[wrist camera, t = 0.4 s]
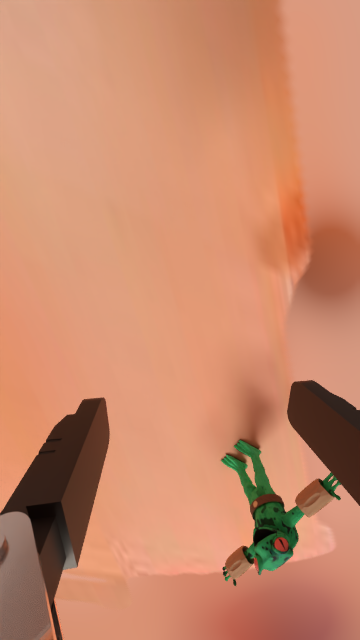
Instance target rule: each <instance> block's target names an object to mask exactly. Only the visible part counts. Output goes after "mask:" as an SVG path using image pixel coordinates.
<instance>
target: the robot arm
mask: <svg viewBox="0 0 360 640" xmlns="http://www.w3.org/2000/svg"><path fill="white" fill-rule="evenodd" d="M287 414H288V419H289V421H290V424H291V425H292V427H293V428H294V429H295V430H296V432H297V433H298V434H299V435H300V436H301V437H302V439H303V440H304V441H305V442H306V443H307V444H308V446H309V447H310V448H311V449H312V450H313V451H314V453H315V454H316V455H317V456H318V457H319V459H320V460H321V461H322V462H323V463H324V464H325V466H326V467H327V468H328V469H329V470H330V471H331V473H332V474H333V475H334V476H335V477H336V479H337V480H338V481H339V482H340V483H341V484H342V485H343V487H344V488H345V489H346V490H347V491H348V493H349V494H350V495H351V496H352V497H353V498H354V500H355V501H356V502H357V503H358V504H359V506H360V410H356V408H355V407H354V406H353V405H351V404H350V403H348V402H347V401H346V400H344V399H343V398H341V397H339V396H336V395H334V394H332V393H330V392H329V391H328V390H326V389H325V388H323V387H322V386H321V385H319V384H318V383H316V382H315V381H312V380H309V381H298V382H294V383H293V384H292V386H291V391H290V398H289V404H288V410H287ZM108 444H109V423H108V415H107V408H106V401H105V398H93V399H84V400H83V401H82V402H81V404H80V406H79V408H78V410H77V411H76V413H75V414H71V415H67V416H66V417H64V418H63V419H62V420H61V421H60V422H59V423H58V424H57V425H56V426H55V427H54V428H53V430H52V431H51V433H50V435H49V436H48V438H47V439H46V443H44V444H43V446H42V448H41V449H40V451H39V454H38V455H37V456H36V457H35V459H34V460H33V462H32V464H31V465H30V467H29V468H28V470H27V472H26V473H25V475H24V477H23V478H22V480H21V481H20V483H19V485H18V486H17V488H16V489H15V491H14V493H13V494H12V496H11V497H10V499H9V501H8V502H7V504H6V506H5V507H4V509H3V510H2V512H1V513H0V640H64V638H63V633H62V629H61V624H60V620H59V615H58V611H57V607H56V602H55V594H56V591H57V587H58V584H59V581H60V577H61V574H62V571H63V570H65V569H71V568H76V567H77V566H78V562H79V558H80V554H81V550H82V546H83V543H84V539H85V535H86V531H87V527H88V523H89V519H90V515H91V511H92V508H93V504H94V500H95V496H96V492H97V488H98V484H99V480H100V476H101V472H102V469H103V465H104V461H105V457H106V453H107V449H108Z"/></svg>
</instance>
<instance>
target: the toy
mask: <svg viewBox="0 0 360 640" xmlns="http://www.w3.org/2000/svg"><path fill="white" fill-rule="evenodd" d="M239 442H240V443H237V444H238V445H235V446H234V447H235V448H236V449H237V450H239V451H240V452H242V453H244V454H246V455H248V456H249V457H251V459H252V462H253V468H254V472H255V483H256V485H257V488H256V487H255V486H254V485H253V484H252V481H251V480H250V478H249V477H248V475H247V473H246V471H245V469H246V468H247V467H248V466H247V464H245V463H243V462H241V461H239V460H237V459H236V458H234V457H232V456H229V455H226V456H227V458H224V459H225V460H221V461H222V462H223V463H224V464H225V465H227V466H228V467H230V468H232V469H234V470H235V471H236V472H237V473H238V475H239V477H240V480H241V484H242V486H243V488H244V492H245V494H246V496H247V498H248V500H249V503H250V512H251V514H252V517H253V519H254V520H255V528H254V532H253V544H252V545H251V546H250V547H249V548H248V547H246V546H241V547H240V548H238V549H237V550H236V551H235V552H234V553H232V554H231V555H230V556H229V557H228V559H227V561H226V563H225V565H226V566H225V567H223V570H224V572H223V575H224V576H226V574H227V573H229V576H228V577H225V580H226V581H228V579H229V577H232V578H233V581H234V582H233V583H234V585H235V586H236V581H235V579H237V578H238V577H240V576H241V575H242V574H243V573H244V572H246V571H247V570H248V569H249V568H250V567H251V566H252V565H253V563H254V564H255V567H256V569H257V571H258V574H259V575H260V574H261V571H262V570H263V569H267V570H269V571H273V570H275V569H277V568H278V567H280V566H281V565H283V564H284V563H285V562H286V561H287V560H289V559H290V558H291V557H292V556H293V548H294V547H295V546H296V544H297V542H298V533H297V530H296V527H295V525H296V523H297V522H298V521H299V520H300V519H301V518H302V517H303V515H304V514H305V515H306V516H307V517H311V516H313V515H314V514H315V513H317V512H318V511H319V510H321V509H322V508H323V507H324V506H326V505H327V504H328V503H329V502H330V501H331V500H332V499H333V498H334V497H336V498H337V499H338V500H340V499H341V498H340V497H339V496H338V495H336V494H335V493H334V491H335V489H336V487H337V486H338V485H341V483H340V482H339V481H338V482H337V484H335V485H334V486H332V484H333V482H334V481H335V480H337V479H336V477H335V476H334V477H333V479H332V480H330V481H329V479H330V478H331V477H332V476H333V474H332V473H330V474H329V475H328V476H327V477H326V478H325V479H324V480H323V481H322V480H321V479H316V480H315V481H313V482H312V483H311V484H309V485H308V486H307V487H306V488H305V489H304V490H302V491H301V492H300V493H299V494H298V496H297V497H296V500H295V502H296V504H297V506H296V507H294V508H293V509H291V510H290V511H288V512H285V510H284V503H283V501H282V499H281V497H280V496H278V495H276V494H275V492H274V491H273V489H272V488H271V486H270V484H269V479H268V477H267V475H266V473H265V469H264V467H263V465H262V463H261V460H260V458H259V455H260V453H261V451H260V450H258V449H257V448H255V447H253V446H251V445H249V444H247V443H246V442H244V441H241V440H239ZM328 481H329V482H328ZM254 558H255V560H254ZM225 569H227V571H226V572H225Z"/></svg>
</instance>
